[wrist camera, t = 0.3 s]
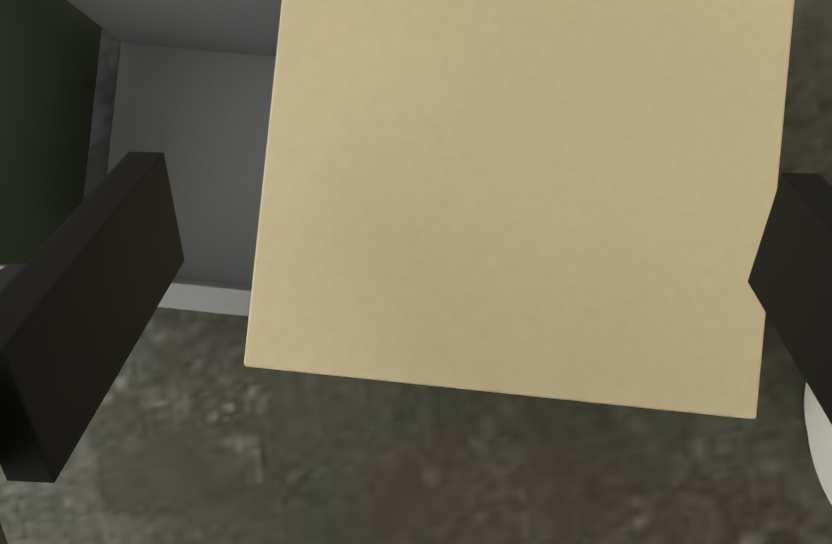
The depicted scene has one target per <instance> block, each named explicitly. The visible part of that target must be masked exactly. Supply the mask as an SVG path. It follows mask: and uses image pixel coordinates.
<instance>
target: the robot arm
mask: <svg viewBox="0 0 832 544" xmlns="http://www.w3.org/2000/svg"><path fill="white" fill-rule="evenodd" d="M184 261H185V259H184V254H183V249H182V244H181V239H180V233H179V228H178V223H177V218H176V213H175V208H174V202H173V197H172V192H171V187H170V182H169V177H168V172H167V166H166V161H165V156H164V153H162V152H131V151H129V152H128V153H127V154H126V155H125V156H124V157H123V158H122V159H121V160H120V162H119V163H118V164H117V165H116V166H115V167H114V168H113V169H112V170H111V171H110V172H109V174H108V175H107V176H106V177H105V178H104V179H103V180H102V181H101V182H100V183H99V184H98V186H97V187H96V188H95V189H94V190H93V191H92V192H91V193H90V194H89V195H88V196H87V197H86V199H85V200H84V201H83V202H82V203H81V204H80V205H79V206H78V207H77V208H76V209H75V211H74V212H73V213H72V214H71V215H70V216H69V217H68V218H67V219H66V220H65V221H64V222H63V224H62V225H61V226H60V227H59V228H58V229H57V230H56V231H55V232H54V233H53V234H52V236H51V237H50V238H49V239H48V240H47V241H46V242H45V243H44V244H43V245H42V246H41V248H40V249H39V250H38V251H37V252H36V253H35V254H34V255H33V256H32V257H31V258H30V259H29V261H28V262H27V263H10V264H9V265H7V266H5V267H3V268H2V269H0V465H1V467H2V469H3V472H4V474H5V476H6V478H7V481H27V482H48V483H54V482H55V481H56V479H57V477H58V476H59V474H60V472H61V470H62V469H63V467H64V465H65V464H66V462H67V460H68V458H69V457H70V455H71V453H72V452H73V450H74V448H75V447H76V445H77V443H78V441H79V440H80V438H81V436H82V435H83V433H84V431H85V429H86V428H87V426H88V424H89V423H90V421H91V419H92V418H93V416H94V414H95V412H96V411H97V409H98V407H99V406H100V404H101V402H102V401H103V399H104V397H105V395H106V394H107V392H108V390H109V389H110V387H111V385H112V383H113V382H114V380H115V378H116V377H117V375H118V373H119V372H120V370H121V368H122V366H123V365H124V363H125V361H126V360H127V358H128V356H129V354H130V353H131V351H132V349H133V348H134V346H135V344H136V343H137V341H138V339H139V337H140V336H141V334H142V332H143V331H144V329H145V327H146V325H147V324H148V322H149V320H150V319H151V317H152V315H153V314H154V312H155V310H156V308H157V307H158V305H159V303H160V302H161V300H162V298H163V296H164V295H165V293H166V291H167V290H168V288H169V286H170V285H171V283H172V281H173V279H174V278H175V276H176V274H177V273H178V271H179V269H180V268H181V266H182V264H183V262H184ZM748 283H749V285H750V287H751V288H752V290H753V292H754V293H755V295H756V297H757V299H758V300H759V302H760V304H761V305H762V307H763V309H764V310H765V312H766V314H767V316H768V317H769V319H770V321H771V322H772V324H773V326H774V327H775V329H776V331H777V333H778V334H779V336H780V338H781V339H782V341H783V343H784V345H785V346H786V348H787V350H788V351H789V353H790V355H791V356H792V358H793V360H794V362H795V363H796V365H797V367H798V368H799V370H800V372H801V373H802V375H803V377H804V379H805V380H806V382H807V384H808V385H809V387H810V389H811V390H812V392H813V394H814V396H815V397H816V399H817V401H818V402H819V404H820V406H821V407H822V409H823V411H824V413H825V414H826V416H827V418H828V419H829V421H830V423H831V424H832V187H831V186H830V184H829V183H828V182H827V181H826V180H825V179H824V178H823V177H822V176H821V175H820V174H802V173H782V176H781V179H780V182H779V185H778V188H777V191H776V195H775V198H774V201H773V204H772V207H771V210H770V213H769V216H768V219H767V223H766V226H765V229H764V232H763V235H762V238H761V241H760V244H759V248H758V251H757V254H756V257H755V260H754V263H753V266H752V269H751V273H750V276H749V279H748ZM0 544H7V541H6V538H5V535H4V532H3V529H2V526H1V523H0Z"/></svg>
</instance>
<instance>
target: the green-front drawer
mask: <svg viewBox="0 0 832 544" xmlns="http://www.w3.org/2000/svg"><path fill="white" fill-rule="evenodd" d="M281 3H282V0H0V269H2V268H3V267H5V266H7V265H9V264H10V263H27V262H28V261H29V259H30V258H31V257H32V256H33V255H34V254H35V253H36V252H37V251H38V250H39V249H40V248H41V246H42V245H43V244H44V243H45V242H46V241H47V240H48V239H49V238H50V237H51V236H52V234H53V233H54V232H55V231H56V230H57V229H58V228H59V227H60V226H61V225H62V224H63V222H64V221H65V220H66V219H67V218H68V217H69V216H70V215H71V214H72V213H73V212H74V211H75V209H76V208H77V207H78V206H79V205H80V204H81V203H82V202H83V194H84V185H85V176H86V167H87V158H88V148H89V139H90V130H91V121H92V112H93V103H94V93H95V84H96V75H97V66H98V57H99V48H100V38H101V29H102V28H103V29H104V30H106V31H107V32H108V33H110V34H111V35H112V36H113V37H115V38H116V39H117V40H118V41H120V42H121V45H120V54H119V63H118V72H117V81H116V91H115V100H114V109H113V118H112V128H111V137H110V146H109V155H108V164H107V174H106V176H107V175H108V174H109V172H110V171H111V170H112V169H113V168H114V167H115V166H116V165H117V164H118V163H119V162H120V160H121V159H122V158H123V157H124V156H125V155H126V154H127V153H128V152H129V151H131V152H162V153H164V156H165V161H166V166H167V172H168V177H169V182H170V187H171V192H172V197H173V202H174V208H175V213H176V218H177V223H178V228H179V233H180V239H181V244H182V249H183V254H184V259H185V261H184V262H183V264H182V266H181V268H180V269H179V271H178V273H177V274H176V276H175V278H174V279H173V281H172V283H171V285H170V286H169V288H168V290H167V291H166V293H165V295H164V296H163V298H162V300H161V302H160V303H159V305H158V307H161V308H171V309H180V310H190V311H200V312H210V313H220V314H229V315H239V316H249V309H250V299H251V290H252V280H253V271H254V261H255V251H256V242H257V232H258V223H259V213H260V204H261V194H262V185H263V175H264V166H265V156H266V146H267V137H268V127H269V118H270V108H271V99H272V89H273V80H274V70H275V61H276V51H277V41H278V32H279V22H280V13H281Z"/></svg>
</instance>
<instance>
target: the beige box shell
mask: <svg viewBox="0 0 832 544" xmlns="http://www.w3.org/2000/svg"><path fill="white" fill-rule="evenodd" d="M794 1H795V0H282V3H281V13H280V22H279V32H278V41H277V51H276V61H275V70H274V80H273V89H272V99H271V108H270V118H269V127H268V137H267V146H266V156H265V166H264V175H263V185H262V194H261V204H260V213H259V223H258V232H257V242H256V251H255V261H254V271H253V280H252V290H251V299H250V309H249V318H248V328H247V337H246V347H245V356H244V365H245V366H247V367H256V368H265V369H275V370H285V371H294V372H304V373H313V374H323V375H333V376H342V377H352V378H361V379H371V380H381V381H390V382H400V383H409V384H419V385H429V386H438V387H448V388H457V389H467V390H477V391H486V392H496V393H505V394H515V395H525V396H534V397H544V398H553V399H563V400H573V401H582V402H592V403H602V404H611V405H621V406H630V407H640V408H650V409H659V410H669V411H678V412H688V413H698V414H707V415H717V416H726V417H736V418H746V419H755V418H756V412H757V402H758V391H759V380H760V369H761V358H762V347H763V337H764V326H765V315H766V312H765V310H764V309H763V307H762V305H761V304H760V302H759V300H758V299H757V297H756V295H755V293H754V292H753V290H752V288H751V287H750V285H749V283H748V279H749V276H750V273H751V269H752V266H753V263H754V260H755V257H756V254H757V251H758V248H759V244H760V241H761V238H762V235H763V232H764V229H765V226H766V223H767V219H768V216H769V213H770V210H771V207H772V204H773V201H774V198H775V195H776V191H777V185H778V174H779V163H780V152H781V141H782V131H783V120H784V109H785V98H786V87H787V76H788V66H789V55H790V44H791V33H792V22H793V11H794Z"/></svg>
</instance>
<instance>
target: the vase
mask: <svg viewBox="0 0 832 544" xmlns="http://www.w3.org/2000/svg"><path fill="white" fill-rule="evenodd" d="M804 414H805V422H806V428H807V432H808V440H809V446H810V451H811V456H812V460H813V463H814V467H815V470H816V473H817V475H818V478H819V481H820V483H821V485H822V487H823V490H824V492H825V494H826V495H827V497H828V499H829V501H830V503H831V505H832V424H831V423H830V421H829V419H828V418H827V416H826V414H825V413H824V411H823V409H822V407H821V406H820V404H819V402H818V401H817V399H816V397H815V396H814V394H813V392H812V390H811V389H810V387H809V385H808V384H807V382H806V386H805V395H804Z"/></svg>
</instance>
